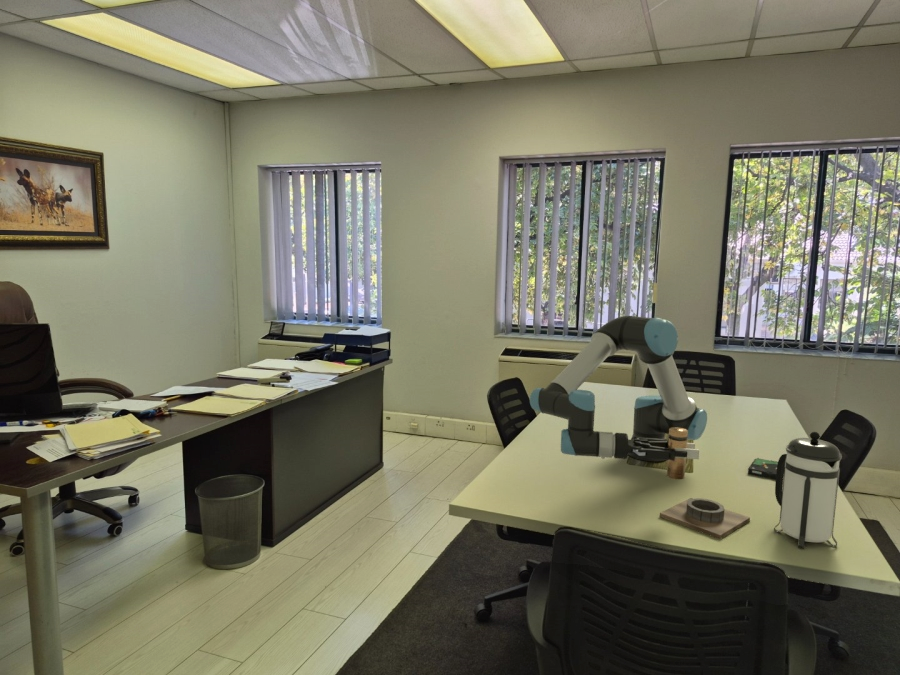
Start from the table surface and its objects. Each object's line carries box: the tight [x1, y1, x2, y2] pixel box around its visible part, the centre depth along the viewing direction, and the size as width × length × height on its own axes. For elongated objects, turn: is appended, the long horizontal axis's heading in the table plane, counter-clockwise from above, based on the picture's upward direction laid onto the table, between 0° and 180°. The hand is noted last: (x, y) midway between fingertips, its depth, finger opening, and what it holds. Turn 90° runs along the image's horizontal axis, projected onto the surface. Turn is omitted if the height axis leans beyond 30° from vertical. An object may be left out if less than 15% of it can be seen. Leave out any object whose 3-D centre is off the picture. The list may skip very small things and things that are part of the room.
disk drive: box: [747, 457, 785, 481], centre depth 215 cm, size 10×3×15 cm
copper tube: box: [665, 427, 689, 480], centre depth 175 cm, size 5×5×14 cm
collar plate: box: [659, 497, 751, 540], centre depth 174 cm, size 18×18×4 cm
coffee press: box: [773, 431, 843, 550], centre depth 162 cm, size 17×16×30 cm
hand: (696, 451), depth 173 cm, fingers closed on copper tube, 5 cm apart
